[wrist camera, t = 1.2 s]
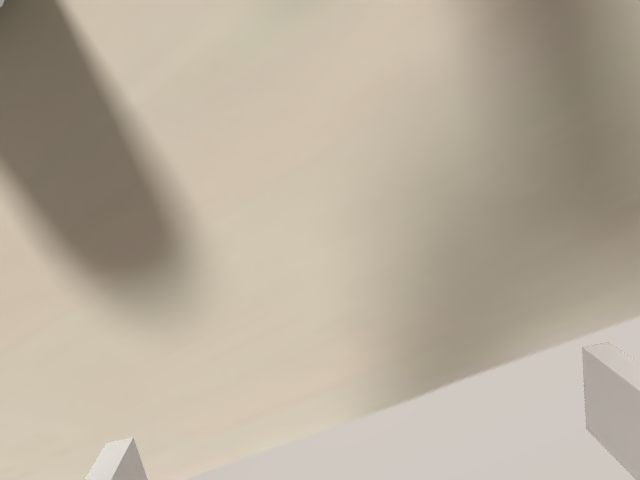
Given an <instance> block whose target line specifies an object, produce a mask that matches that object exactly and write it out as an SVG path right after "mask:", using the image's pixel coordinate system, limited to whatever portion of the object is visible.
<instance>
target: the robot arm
mask: <svg viewBox="0 0 640 480" xmlns="http://www.w3.org/2000/svg"><path fill="white" fill-rule="evenodd" d="M582 353H583V373H584V391H585V412H586V429H587V430H588V431H589V432H590V433H591V434H592V435H593V436H594V437H595V438H596V439H597V440H598V441H599V442H600V443H601V444H602V445H603V446H604V447H605V449H606V450H607V451H608V452H609V453H610V454H611V455H612V456H613V457H614V458H615V459H616V460H617V461H618V462H619V463H620V464H621V465H622V466H623V467H624V468H625V469H626V470H627V471H628V472H629V473H630V474H631V475H632V476H633V477H634V478H635V479H636V480H640V364H639V363H638V362H637V361H635V360H634V359H632V358H631V357H629V356H628V355H626V354H625V353H623V352H622V351H621V350H619V349H618V348H616V347H615V346H613V345H612V344H610V343H609V342H606V343H601V344H597V345H592V346H587V347H582ZM85 480H148V479H147V476H146V473H145V470H144V468H143V465H142V462H141V459H140V456H139V453H138V450H137V447H136V444H135V441H134V438H133V437H132V438H127V439H122V440H117V441H112V442H107V443H106V445H105V446H104V448H103V450H102V451H101V453H100V455H99V456H98V458H97V460H96V461H95V463H94V465H93V466H92V468H91V470H90V471H89V473H88V475H87V476H86V478H85Z"/></svg>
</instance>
